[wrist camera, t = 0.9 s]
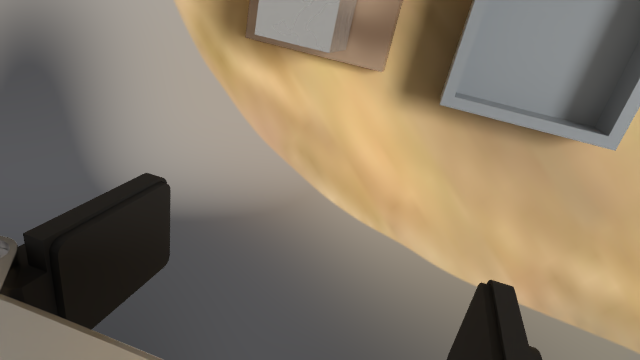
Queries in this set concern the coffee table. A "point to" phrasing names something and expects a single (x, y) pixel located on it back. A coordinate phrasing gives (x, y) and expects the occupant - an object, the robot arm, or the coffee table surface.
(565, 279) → the coffee table surface
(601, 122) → the tray
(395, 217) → the coffee table surface
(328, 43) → the grey cube block
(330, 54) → the slide board
